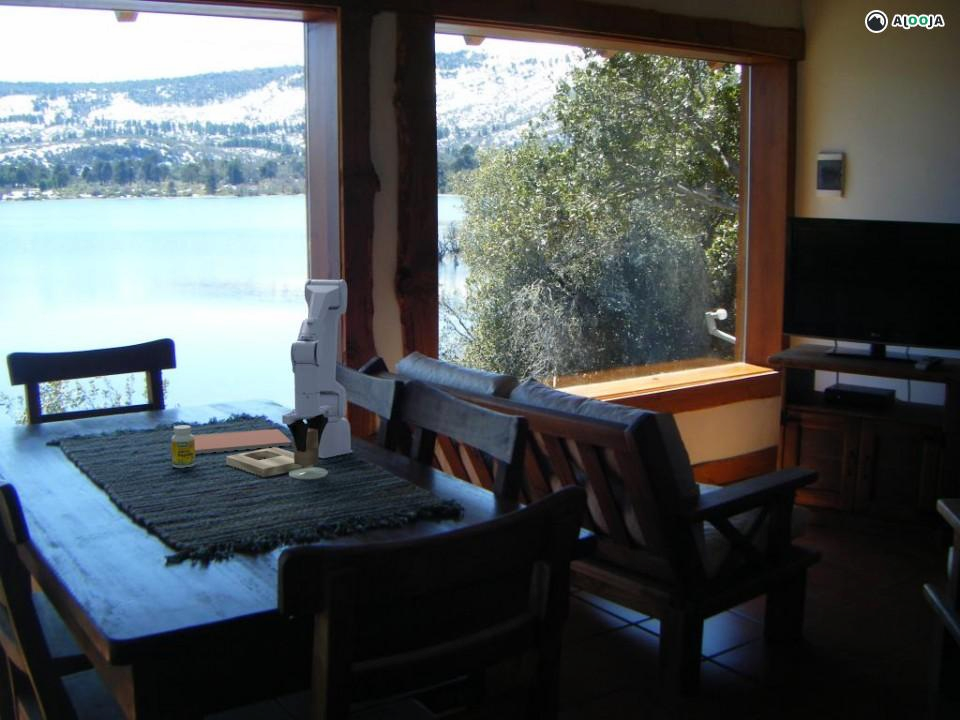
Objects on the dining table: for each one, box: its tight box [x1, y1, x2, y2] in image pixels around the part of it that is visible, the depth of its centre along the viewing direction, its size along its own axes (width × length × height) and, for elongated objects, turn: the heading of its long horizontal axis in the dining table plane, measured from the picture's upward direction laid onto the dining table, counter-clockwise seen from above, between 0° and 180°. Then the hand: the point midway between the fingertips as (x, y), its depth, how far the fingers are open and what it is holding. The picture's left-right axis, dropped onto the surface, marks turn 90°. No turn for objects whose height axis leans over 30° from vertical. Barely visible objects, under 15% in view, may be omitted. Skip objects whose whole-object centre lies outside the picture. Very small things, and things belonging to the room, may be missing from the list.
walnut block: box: [293, 428, 320, 466], centre depth 245 cm, size 4×4×8 cm
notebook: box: [192, 428, 292, 455], centre depth 275 cm, size 27×17×2 cm, turn 114°
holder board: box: [225, 447, 314, 478], centre depth 253 cm, size 14×16×2 cm
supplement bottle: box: [171, 424, 196, 469], centre depth 252 cm, size 5×5×10 cm
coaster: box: [288, 466, 329, 481], centre depth 246 cm, size 9×9×1 cm
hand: (308, 449), depth 245 cm, fingers closed on walnut block, 4 cm apart
